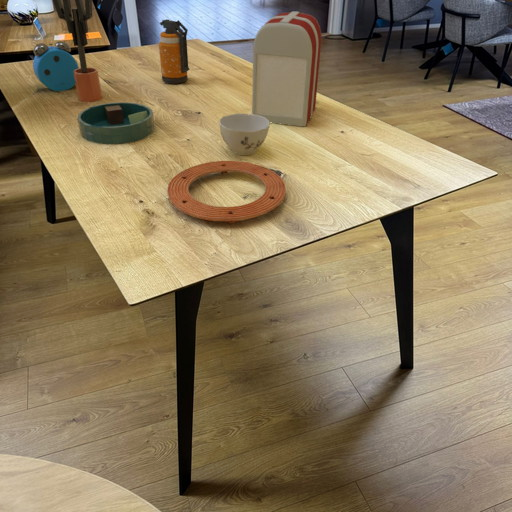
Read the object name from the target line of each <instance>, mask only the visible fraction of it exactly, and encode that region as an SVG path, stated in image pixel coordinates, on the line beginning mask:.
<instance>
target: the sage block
mask: <svg viewBox="0 0 512 512" xmlns="http://www.w3.org/2000/svg"><path fill="white" fill-rule="evenodd" d="M128 117H129V120H130V124H134V123H137V122H140V121H142V120H144V119H146V118H147V117H148V114H147V111H143V112H139V113H135V114H132V115H128Z"/></svg>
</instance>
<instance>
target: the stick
mask: <svg viewBox="0 0 512 512" xmlns="http://www.w3.org/2000/svg"><path fill="white" fill-rule="evenodd" d="M71 12H72V18H73V19H72V20H73V21H74V27H75V34H76V40H77V46H76V47H77V53H78V59H79V65H80V66H79V67H80V68H81V72H82V73H88V71H87V67H88V65H87V59H86V58H87V57H86V52H85V46H82V41H81V36H80V31H79V26H78V22H79V20H80V18H79V14H78V10H77V7H76V8H75V7H73V8H71Z"/></svg>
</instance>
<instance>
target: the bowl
mask: <svg viewBox="0 0 512 512" xmlns="http://www.w3.org/2000/svg"><path fill="white" fill-rule="evenodd" d="M114 105H119V106H120V107H121V109H122V112H123V119H124V123H121V124H114V125H110V124H109V123H108V121H107V118H106V112H105V107H106V106H114ZM143 111H147V114H148V117H147V118H146V119H144V120H142V121H140V122H137V123H134V124H130V120H129V117H128V115H132V114H135V113H139V112H143ZM76 119H77V123H78V128H79V132H80V135H81V137H82V138H83V139H84V140H86V141H88V142H90V143H93V144H99V145H124V144H130V143H135V142H137V141H141V140H144V139H146V138H147V137H149V136H151V135H152V134H153V133H154V131H155V121H154V112H153V109H151V108H150V107H149V106H148V105H145V104H142V103H138V102H130V101H129V102H127V101H118V102H117V101H116V102H107V103H100V104H95V105H93V106H89V107H87V108H85V109H83V110H81V111H80V112H79V113H78V114H77V118H76Z"/></svg>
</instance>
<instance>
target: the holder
mask: <svg viewBox="0 0 512 512" xmlns="http://www.w3.org/2000/svg"><path fill="white" fill-rule="evenodd" d="M87 71H88V73H82V72H81V67H79V69H75V70H74V71H73V73H74V78H75V83H76V84H75V87H76V93H77V98H78V101H79V102H83V103H94V102H98V101H100V100H102V99H103V92H102V87H101V81H100V75H99V69H98V68H96V67H88V66H87Z"/></svg>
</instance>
